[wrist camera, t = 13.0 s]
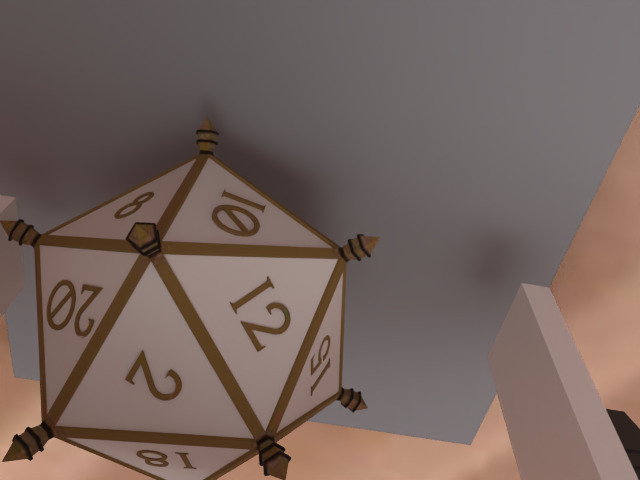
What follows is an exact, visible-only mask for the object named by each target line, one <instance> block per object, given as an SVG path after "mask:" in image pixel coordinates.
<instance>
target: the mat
mask: <svg viewBox="0 0 640 480" xmlns="http://www.w3.org/2000/svg"><path fill="white" fill-rule="evenodd" d="M639 105H640V0H0V195H4V196H10V197H16V206H17V214H18V220H19V219H23V220H24V223H26V224H27V225H33V226H34V229H35V230H36V231H37V232H38V233H39V234H44V233H45V232H47V231H49V230H51V229H53V228H55V227H57V226H59V225H61V224H63V223H65V222H67V221H69V220H71V219H73V218H75V217H77V216H79V215H81V214H83V213H85V212H87V211H89V210H90V209H92V208H94V207H96V206H98V205H100V204H102V203H104V202H106V201H108V200H110V199H112V198H114V197H116V196H118V195H120V194H122V193H124V192H126V191H128V190H130V189H132V188H134V187H135V186H137V185H139V184H141V183H143V182H145V181H147V180H149V179H151V178H153V177H155V176H157V175H159V174H161V173H163V172H165V171H167V170H169V169H171V168H173V167H175V166H177V165H179V164H180V163H182V162H184V161H186V160H188V159H190V158H192V157H194V156H196V155H198V154H199V152H200V151H199V146H198V144H196V141H197V140H198V135H197V134H196V131H197V130H199V129H200V127H201V126H202V124H203V122H204V121H205V119H206V118H207V116H208V118H209V120H210V122H211V123H212V125H213V127H214V129H215V130H216V132H218V133H219V135H217V138H216V142H218V145H215V148H214V150H213V154H214V156H215V157H216V158H218V159H219V160H221V161H222V162H223V163H225V164H226V165H228V166H229V167H230V168H232V169H233V170H234V171H236V172H237V173H239V174H240V175H241V176H243V177H244V178H246V179H247V180H248V181H250V182H251V183H253V184H254V185H255V186H257V187H258V188H259V189H261V190H262V191H264V192H265V193H266V194H268V195H269V196H271V197H272V198H273V199H275V200H276V201H277V202H279V203H280V204H282V205H283V206H284V207H286V208H287V209H289V210H290V211H291V212H293V213H294V214H296V215H297V216H298V217H300V218H301V219H302V220H304V221H305V222H307V223H308V224H309V225H311V226H312V227H314V228H315V229H316V230H318V231H319V232H321V233H322V234H323V235H325V236H326V237H327V238H329V239H330V240H332V241H333V242H334V243H336V244H337V245H339V246H340V247H341V248H342V247H343V246H344V245H346V244H347V243H348V241H347V240H348V239H355V238H356V237H357V235H358V234H363V235H364V236H370V237H381V238H380V239H379V241H378V242H377V244H376V246H375V247H374V249H373V250H372V252H371V257H369V258H368V257H367V256H365V257H363V258H361V261H358V260H349V261H348V262H347V268H346V293H345V318H344V343H343V367H342V387H343V388H344V389H351V388H353V389H354V391H355V392H359V391H360V392H361V396H362V398H363V400H364V402H365V404H366V406H367V408H368V409H362V410H356V411H355V412H354V413H353V412H352V411H351V410H350V409H348V407H347V408H345V407H344V406H342V405H341V402H340V401H338V400H336V401H334V402H333V403H331V404H330V405H329V406H327V407H326V408H324V409H323V410H321V411H320V412H319V413H317V414H316V415H314V416H313V417H311V418H310V419H309V420H307V421H312V422H319V423H326V424H332V425H339V426H346V427H353V428H359V429H366V430H373V431H379V432H386V433H393V434H400V435H406V436H413V437H420V438H426V439H433V440H440V441H447V442H453V443H460V444H467V445H471V443H472V441H473V439H474V437H475V435H476V433H477V431H478V429H479V427H480V425H481V423H482V421H483V419H484V417H485V415H486V413H487V411H488V409H489V407H490V405H491V403H492V401H493V399H494V397H495V395H496V393H497V391H496V387H495V384H494V380H493V376H492V373H491V369H490V366H489V362H488V358H487V357H488V354H489V352H490V350H491V348H492V346H493V344H494V341H495V339H496V337H497V335H498V333H499V331H500V329H501V326H502V324H503V322H504V320H505V318H506V316H507V313H508V311H509V309H510V307H511V305H512V303H513V300H514V298H515V296H516V294H517V292H518V290H519V287H520V285H521V283H525V284H531V285H537V286H543V287H549V286H550V284H551V282H552V280H553V278H554V276H555V274H556V272H557V270H558V268H559V266H560V264H561V262H562V260H563V258H564V256H565V254H566V252H567V250H568V248H569V246H570V244H571V242H572V240H573V238H574V236H575V234H576V232H577V230H578V228H579V226H580V224H581V222H582V220H583V218H584V216H585V214H586V212H587V210H588V208H589V206H590V204H591V202H592V200H593V198H594V196H595V194H596V192H597V190H598V188H599V186H600V184H601V182H602V180H603V178H604V176H605V174H606V172H607V170H608V168H609V166H610V164H611V162H612V160H613V158H614V156H615V154H616V152H617V150H618V148H619V146H620V144H621V142H622V140H623V138H624V136H625V134H626V132H627V130H628V127H629V125H630V123H631V121H632V119H633V117H634V115H635V113H636V111H637V109H638V107H639ZM21 248H22V257H23V265H24V273H25V282H26V284H25V285H24V287H23V288H22V289H21V291H20V292H19V294H18V295H17V296H16V298H15V299H14V300H13V302H12V303H11V304H10V306H9V307H8V309H7V310H6V311H5V317H6V324H7V331H8V337H9V344H10V351H11V358H12V365H13V371H14V377H17V378H24V379H31V380H37V381H40V369H39V347H38V324H37V301H36V278H35V256H34V248H33V247H32V246H31V245H25V244H22V245H21Z"/></svg>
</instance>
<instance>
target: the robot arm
mask: <svg viewBox="0 0 640 480" xmlns="http://www.w3.org/2000/svg"><path fill="white" fill-rule="evenodd" d="M0 220H4V221H18V214H17V206H16V197H10V196H4V195H0ZM8 238H9V237H8V235H7V233H6V232H5V230H4V228H3V227H2V225H1V223H0V318H1V317H2V315H3V314H4V313H5V311H6V310H7V309H8V307H9V306H10V304H11V303H12V302H13V300H14V299H15V298H16V296H17V295H18V294H19V292H20V291H21V289H22V288H23V287H24V285H25V284H26V282H25V273H24V265H23V257H22V248H21V246H20V245H18V244H19V242H16V241H14V240H11V241H8ZM487 358H488V362H489V366H490V369H491V373H492V376H493V380H494V384H495V387H496V391H497V394H498V398H499V402H500V405H501V409H502V412H503V416H504V419H505V423H506V427H507V430H508V434H509V437H510V441H511V445H512V448H513V452H514V455H515V459H516V463H517V466H518V470H519V473H520V477H521V480H640V429H639V428H638V427H637V425H636V424H635V423H634V422H633V421H632V420H631V419H630V418H629V417H628V416H627V414H626V413H625V412H623V411H616V410H610V409H605V406H604V404H603V402H602V400H601V398H600V396H599V393H598V391H597V389H596V387H595V385H594V383H593V381H592V378H591V376H590V374H589V372H588V370H587V368H586V365H585V363H584V361H583V359H582V357H581V355H580V353H579V350H578V348H577V346H576V344H575V342H574V340H573V337H572V335H571V333H570V331H569V329H568V327H567V325H566V322H565V320H564V318H563V316H562V314H561V312H560V309H559V307H558V305H557V303H556V301H555V299H554V297H553V294H552V292H551V290H550V288H549V287H543V286H537V285H531V284H525V283H521V285H520V287H519V290H518V292H517V294H516V296H515V298H514V300H513V303H512V305H511V307H510V309H509V311H508V313H507V316H506V318H505V320H504V322H503V324H502V326H501V329H500V331H499V333H498V335H497V337H496V339H495V341H494V344H493V346H492V348H491V350H490V352H489V354H488V357H487Z"/></svg>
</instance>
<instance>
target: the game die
mask: <svg viewBox="0 0 640 480" xmlns="http://www.w3.org/2000/svg"><path fill="white" fill-rule="evenodd" d="M196 134H197V135H198V140H197V141H196V144H198V146H199V151H200V152H199V154H198V155H196V156H194V157H192V158H190V159H188V160H186V161H184V162H182V163H180V164H179V165H177V166H175V167H173V168H171V169H169V170H167V171H165V172H163V173H161V174H159V175H157V176H155V177H153V178H151V179H149V180H147V181H145V182H143V183H141V184H139V185H137V186H135V187H134V188H132V189H130V190H128V191H126V192H124V193H122V194H120V195H118V196H116V197H114V198H112V199H110V200H108V201H106V202H104V203H102V204H100V205H98V206H96V207H94V208H92V209H90V210H89V211H87V212H85V213H83V214H81V215H79V216H77V217H75V218H73V219H71V220H69V221H67V222H65V223H63V224H61V225H59V226H57V227H55V228H53V229H51V230H49V231H47V232H45V233H44V234H39V233H38V232H37V231H36V230H35V229H34V226H33V225H27V224H26V223H24V220H23V219H19V220H18V221H4V220H0V223H1V225H2V227H3V228H4V230H5V232H6V233H7V235H8V237H9V238H8V241H11V240H14V241H16V242H19V244H18V245H20V246H21V245H22V244H25V245H31V246H32V247H33V248H34V256H35V278H36V301H37V324H38V347H39V369H40V392H41V415H42V423H41V424H40V425H39V426H36V427H33V428H30V427H27V428H26V430H25V432H24V433H22V434H21V435H19V436H18V434H16V435H15V436H14V437H13V440H12V441H13V443H12V445H11V447H10V449H9V450H8V452H7V454H6V455H5V457H4V459H3V461H2V462H5V461H13V460H21V459H28V460H30V461H31V460H32V459H33V457H32V456H33V455H34V454H35V453H37V452H38V451H41V452H42V451H43V450H44V448H43V446H44V445H45V444H46V442H47V441H48V440H49V439H51V438H53V437H55V438H57V439H60V440H62V441H65V442H67V443H69V444H72V445H74V446H77V447H79V448H82V449H84V450H86V451H89V452H91V453H94V454H96V455H98V456H101V457H103V458H106V459H108V460H111V461H113V462H115V463H118V464H120V465H123V466H125V467H127V468H130V469H132V470H135V471H137V472H140V473H142V474H144V475H147V476H149V477H152V478H154V479H156V480H216V479H218V478H219V477H221V476H223V475H224V474H226V473H228V472H229V471H231V470H233V469H234V468H236V467H238V466H239V465H241V464H242V463H244V462H246V461H247V460H249V459H251V458H252V457H254V456H256V455H257V454H259V464H260V466H263V468H264V475H265V476H268V475H271V476H274V477H277V478H280V479H282V480H286V474H287V467H288V463H289V461H290V460H291V457H290V456H288V455H287V454H285V453H284V451H285V448H284V447H282V446H281V445H279V444H277V443H276V442H277V441H279V440H280V439H282V438H283V437H284V436H286V435H287V434H289V433H290V432H292V431H293V430H294V429H296V428H297V427H299V426H300V425H302V424H303V423H304V422H306V421H307V420H309V419H310V418H311V417H313V416H314V415H316V414H317V413H319V412H320V411H321V410H323V409H324V408H326V407H327V406H329V405H330V404H331V403H333V402H334V401H336V400H338V401H340V402H341V405H342V406H344V407H345V408H347V407H348V409H350V410H351V411H352V412H353V413H354V412H355V411H356V410H362V409H368V408H367V406H366V404H365V402H364V400H363V398H362V396H361V392H360V391H359V392H355V391H354V389H353V388H351V389H344V388H343V387H342V367H343V343H344V318H345V293H346V268H347V262H348V261H349V260H358V261H361V258H363V257H365V256H367V257H368V258H369V257H371V252H372V250H373V249H374V247H375V246H376V244H377V242H378V241H379V239H380V238H381V237H370V236H364V235H363V234H358V235H357V237H356V238H355V239H348V240H347V241H348V243H347V244H346V245H344V246H343V247H342V248H341V247H340V246H339V245H337V244H336V243H334V242H333V241H332V240H330V239H329V238H327V237H326V236H325V235H323V234H322V233H321V232H319V231H318V230H316V229H315V228H314V227H312V226H311V225H309V224H308V223H307V222H305V221H304V220H302V219H301V218H300V217H298V216H297V215H296V214H294V213H293V212H291V211H290V210H289V209H287V208H286V207H284V206H283V205H282V204H280V203H279V202H277V201H276V200H275V199H273V198H272V197H271V196H269V195H268V194H266V193H265V192H264V191H262V190H261V189H259V188H258V187H257V186H255V185H254V184H253V183H251V182H250V181H248V180H247V179H246V178H244V177H243V176H241V175H240V174H239V173H237V172H236V171H234V170H233V169H232V168H230V167H229V166H228V165H226V164H225V163H223V162H222V161H221V160H219V159H218V158H216V157H215V156H214V154H213V150H214V148H215V145H218V142H216V138H217V135H219V133H218V132H216V130H215V129H214V127H213V125H212V123H211V122H210V120H209V118H208V116H207V118H206V119H205V121H204V122H203V124H202V126H201V127H200V129H199V130H197V131H196Z"/></svg>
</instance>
